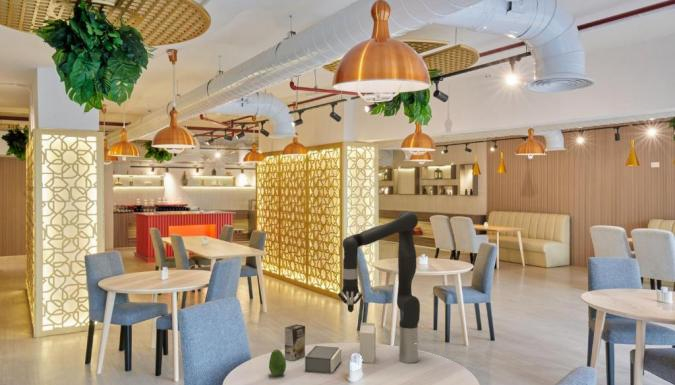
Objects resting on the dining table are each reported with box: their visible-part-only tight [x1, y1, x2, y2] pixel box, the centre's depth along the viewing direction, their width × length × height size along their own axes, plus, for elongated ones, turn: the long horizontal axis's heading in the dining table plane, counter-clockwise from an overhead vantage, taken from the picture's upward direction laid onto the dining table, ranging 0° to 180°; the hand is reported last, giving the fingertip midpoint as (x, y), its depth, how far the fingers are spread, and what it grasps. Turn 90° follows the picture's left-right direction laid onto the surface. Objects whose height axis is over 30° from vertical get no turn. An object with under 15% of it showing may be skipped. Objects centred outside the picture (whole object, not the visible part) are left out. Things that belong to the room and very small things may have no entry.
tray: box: [330, 347, 342, 372], centre depth 259 cm, size 12×17×6 cm
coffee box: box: [284, 324, 306, 362], centre depth 272 cm, size 9×6×16 cm
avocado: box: [268, 349, 287, 377], centre depth 247 cm, size 8×8×12 cm
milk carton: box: [359, 322, 377, 364], centre depth 268 cm, size 7×7×19 cm
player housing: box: [304, 345, 340, 375], centre depth 259 cm, size 12×18×7 cm, turn 166°
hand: (350, 311), depth 265 cm, fingers closed
